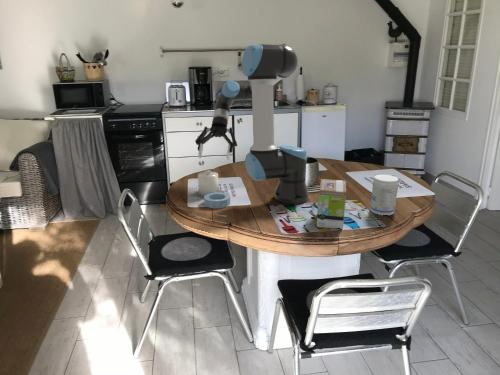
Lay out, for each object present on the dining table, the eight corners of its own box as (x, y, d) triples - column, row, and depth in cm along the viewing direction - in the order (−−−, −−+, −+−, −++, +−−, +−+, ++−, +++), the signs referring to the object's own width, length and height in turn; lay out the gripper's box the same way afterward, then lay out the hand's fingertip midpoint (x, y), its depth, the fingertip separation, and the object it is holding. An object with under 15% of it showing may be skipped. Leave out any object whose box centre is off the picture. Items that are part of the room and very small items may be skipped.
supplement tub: (366, 208, 174) (369, 174, 169) (388, 207, 175) (392, 173, 170) (375, 216, 165) (379, 181, 160) (398, 216, 165) (403, 180, 161)
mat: (226, 192, 192) (226, 191, 192) (213, 200, 182) (213, 199, 182) (203, 188, 197) (203, 187, 197) (190, 196, 187) (190, 195, 187)
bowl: (234, 202, 180) (234, 194, 178) (222, 210, 170) (222, 202, 169) (212, 198, 184) (212, 191, 183) (199, 206, 174) (199, 198, 173)
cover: (221, 191, 191) (221, 169, 188) (212, 197, 184) (211, 174, 180) (205, 189, 195) (204, 167, 192) (194, 194, 187) (193, 172, 184)
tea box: (343, 229, 153) (346, 191, 148) (316, 227, 155) (318, 189, 150) (343, 214, 167) (346, 179, 162) (318, 212, 169) (320, 177, 164)
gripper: (246, 125, 206) (240, 162, 196) (197, 123, 210) (189, 160, 200) (244, 116, 199) (238, 154, 190) (194, 114, 203) (186, 151, 194)
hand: (213, 157), depth 195 cm, fingers open, 13 cm apart
